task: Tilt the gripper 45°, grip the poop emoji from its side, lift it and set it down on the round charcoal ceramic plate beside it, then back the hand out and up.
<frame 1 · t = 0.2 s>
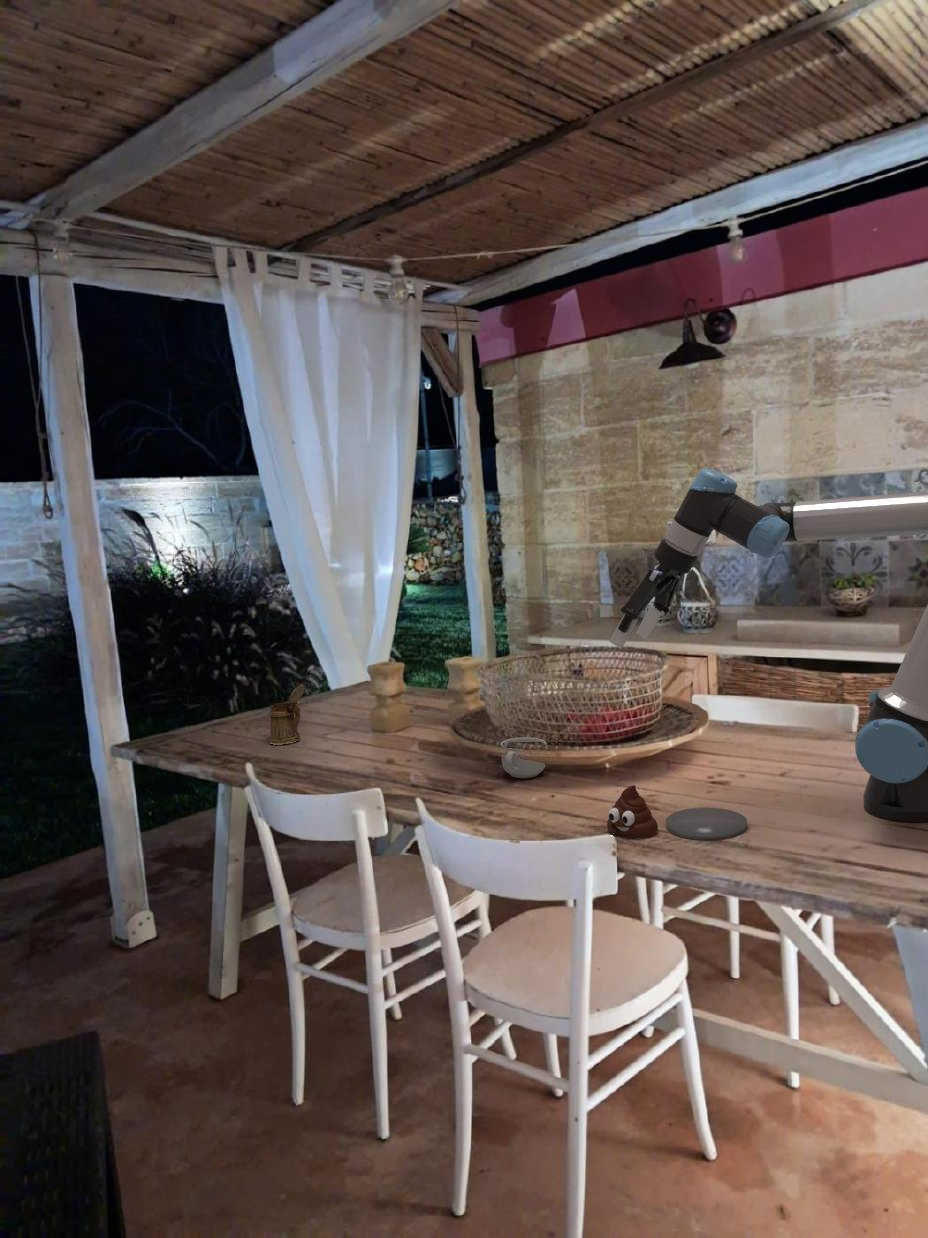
hand: (628, 640, 184), 35 cm above the table, tool tilted 35°, fingers open, 13 cm apart
wooden mug: (291, 743, 273), on the table
charcoal plate: (706, 826, 176), on the table
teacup: (522, 777, 218), on the table
poop emoji: (632, 833, 177), on the table
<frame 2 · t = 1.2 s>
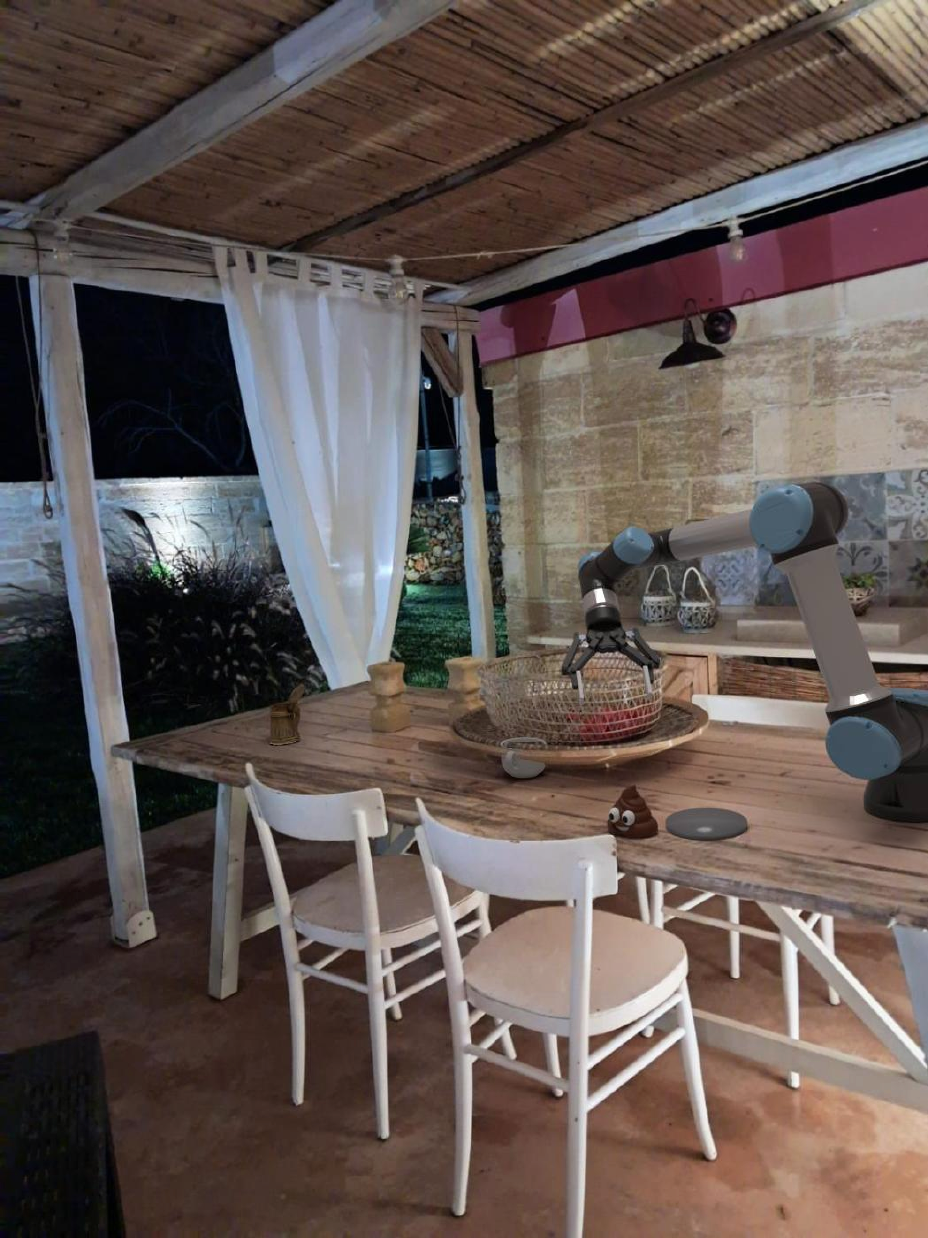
hand: (615, 699, 186), 23 cm above the table, tool tilted 45°, fingers open, 13 cm apart
nothing on the table moved.
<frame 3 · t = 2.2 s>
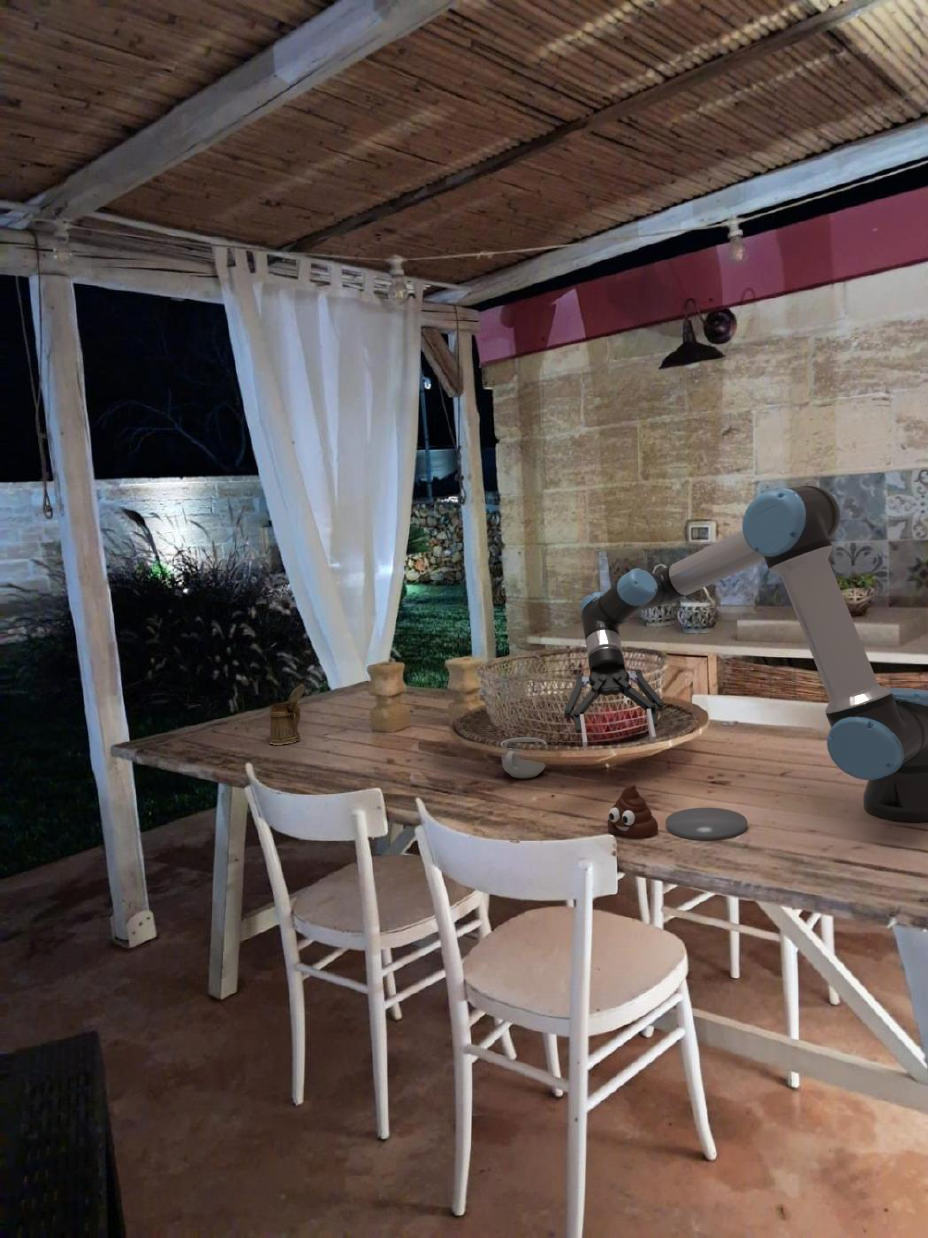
hand: (619, 743, 185), 15 cm above the table, tool tilted 45°, fingers open, 13 cm apart
nothing on the table moved.
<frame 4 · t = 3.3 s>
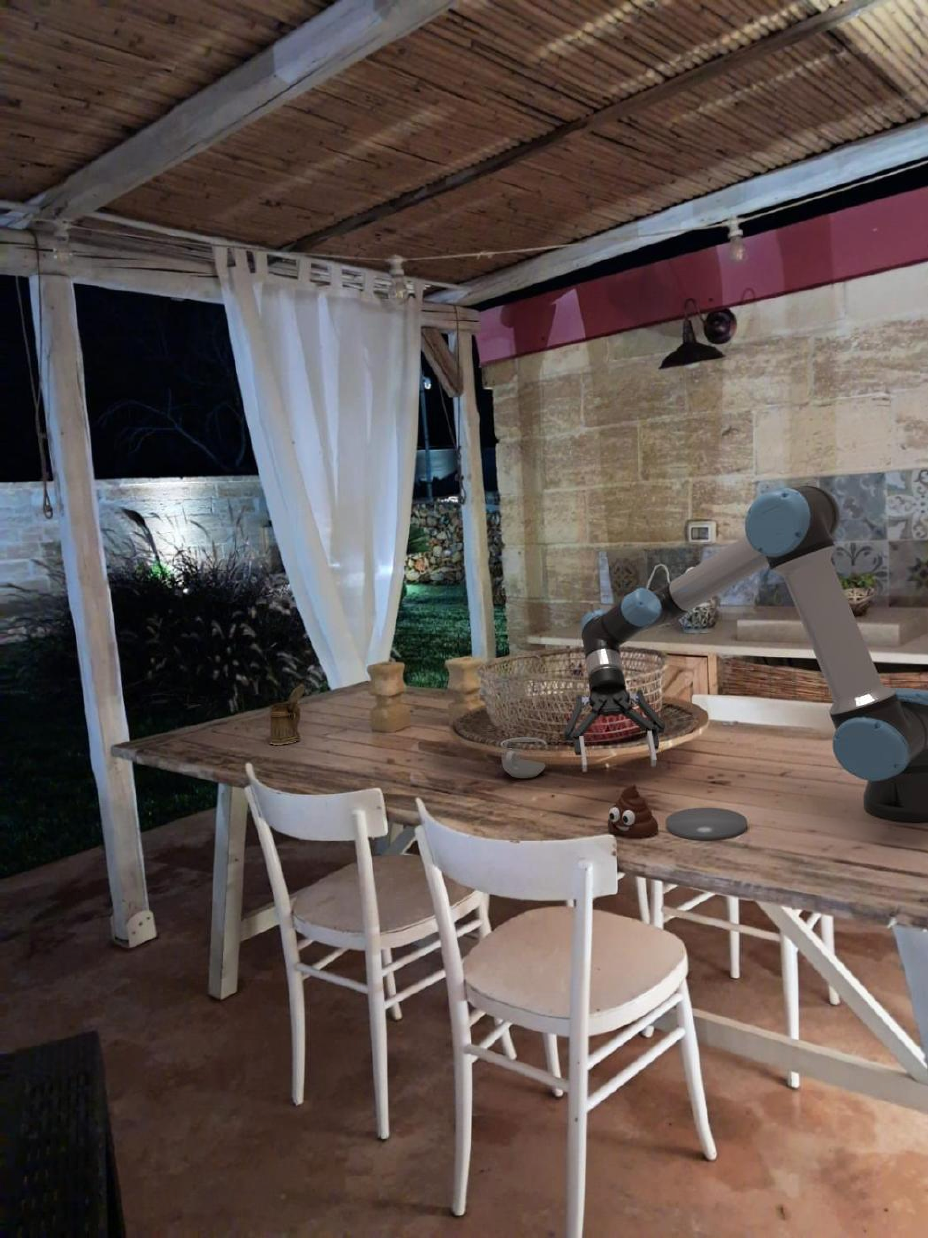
hand: (619, 765, 182), 11 cm above the table, tool tilted 45°, fingers open, 13 cm apart
nothing on the table moved.
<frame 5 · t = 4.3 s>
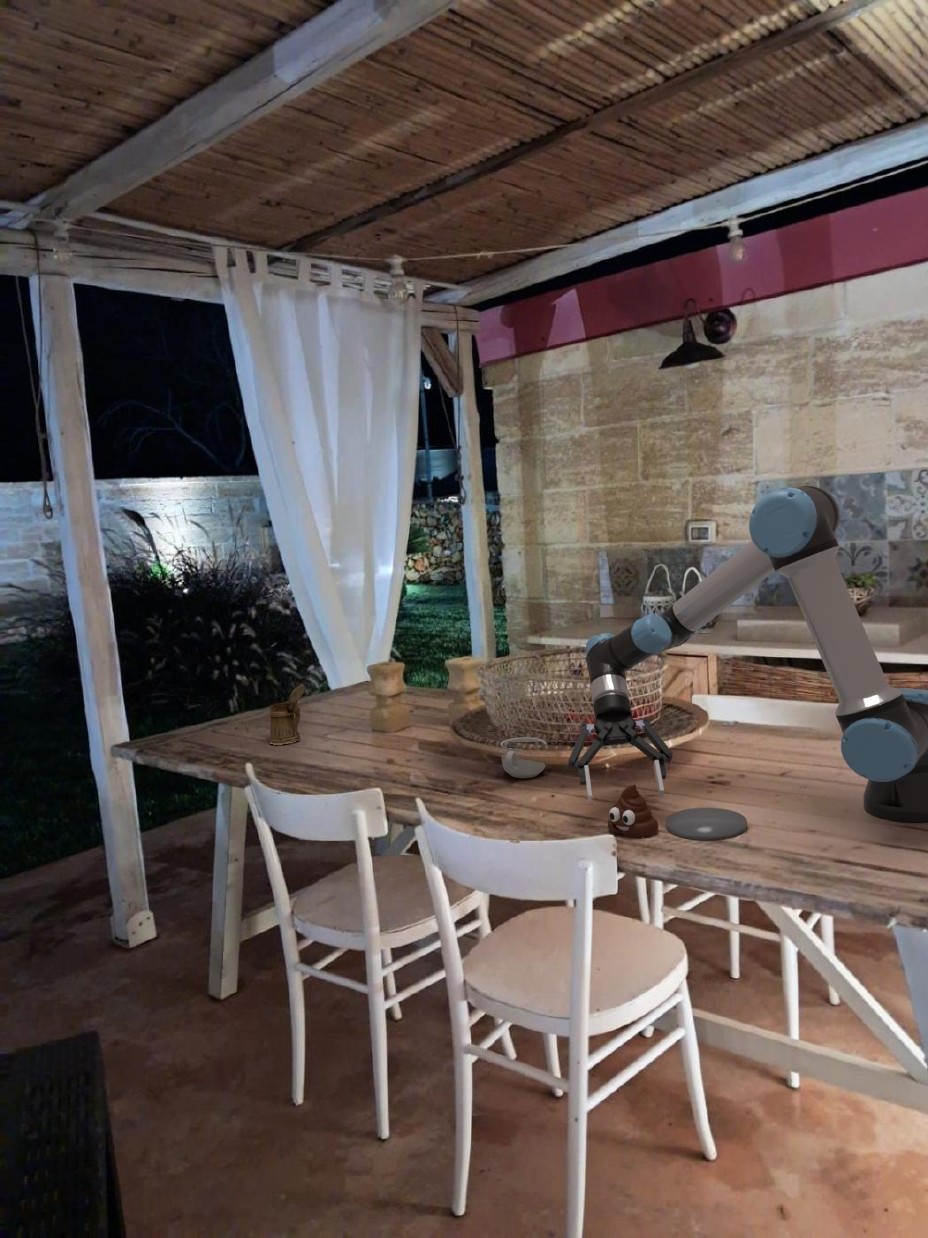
hand: (625, 796, 177), 7 cm above the table, tool tilted 45°, fingers open, 13 cm apart
nothing on the table moved.
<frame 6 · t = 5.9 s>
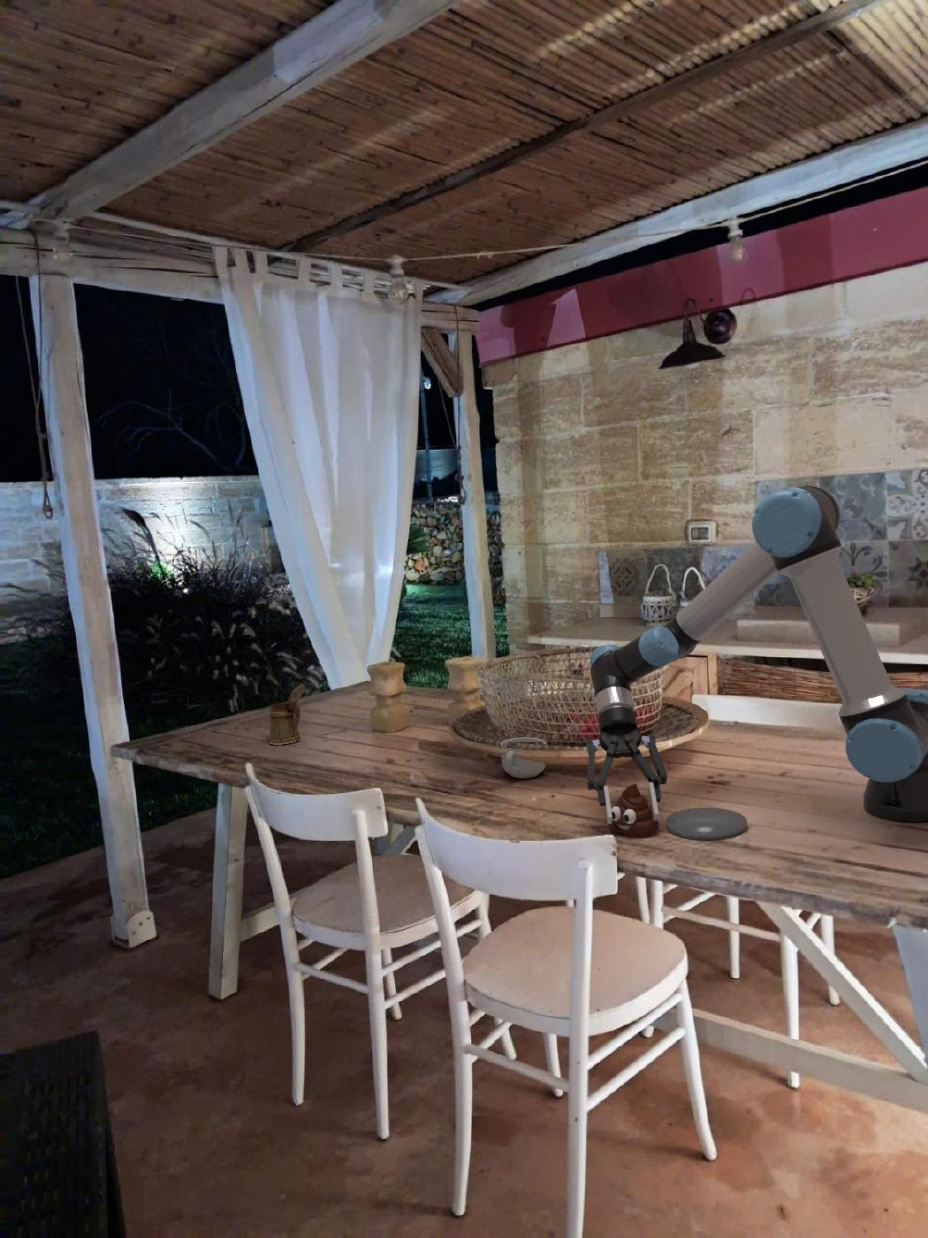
hand: (633, 818, 173), 4 cm above the table, tool tilted 45°, fingers closed on poop emoji, 8 cm apart
poop emoji: (633, 831, 177), on the table, touching gripper
everything else where it was.
when the fingers open (6 cm above the table, at t = 11.0 s): poop emoji stays where it is, resting on charcoal plate.
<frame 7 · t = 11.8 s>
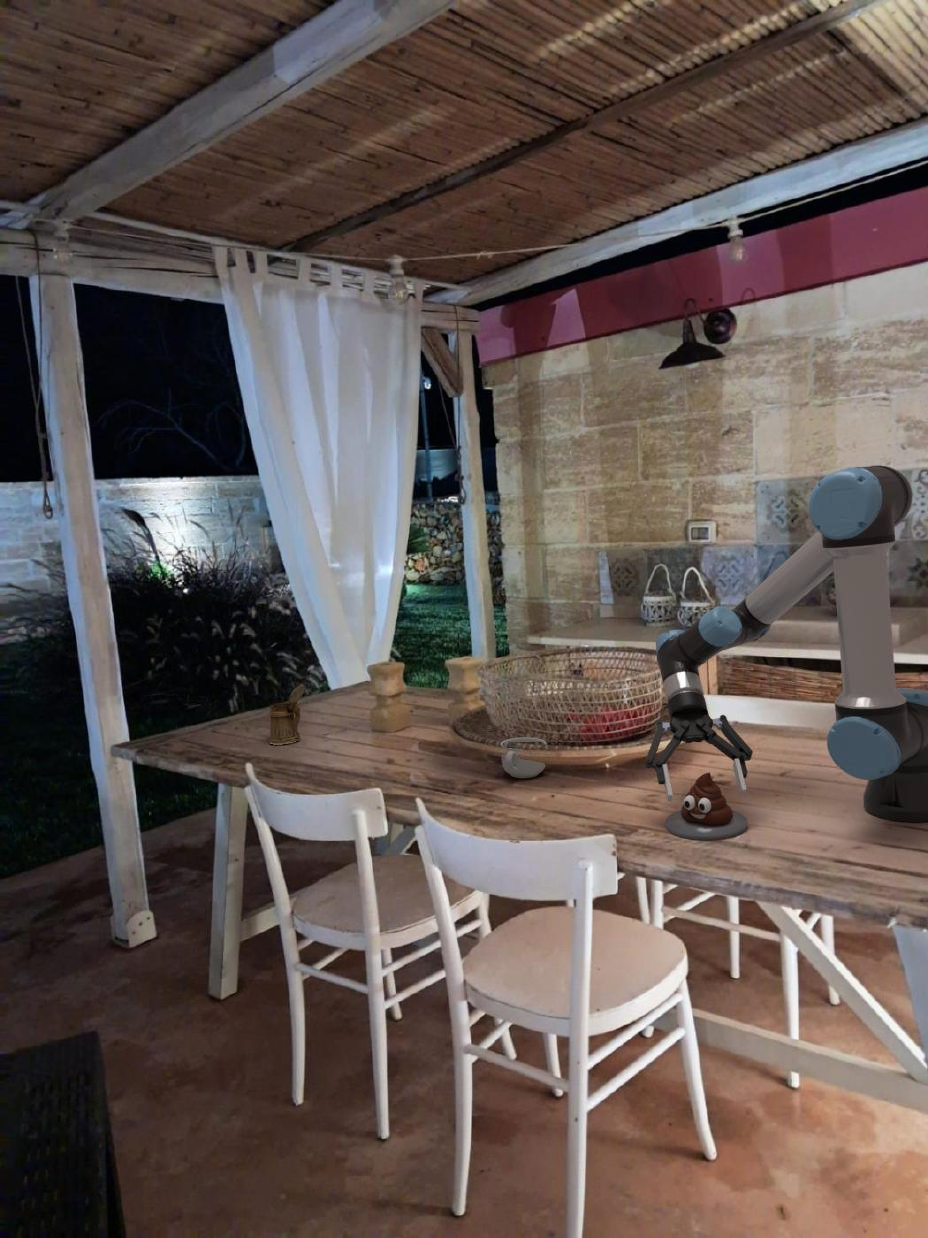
hand: (706, 796, 173), 7 cm above the table, tool tilted 45°, fingers open, 13 cm apart
poop emoji: (706, 820, 176), point 1 cm above the table, touching charcoal plate
everything else where it was.
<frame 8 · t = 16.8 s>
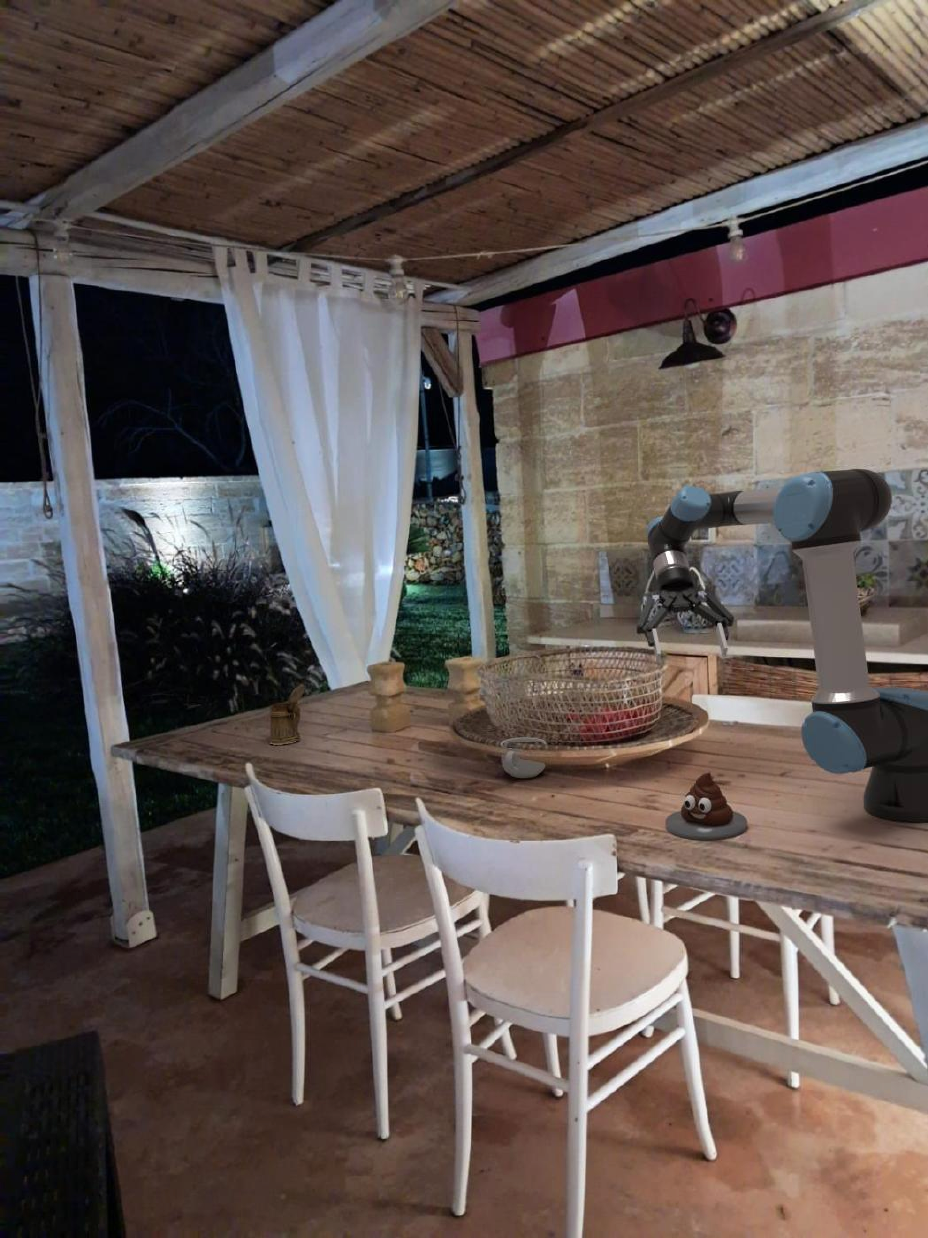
hand: (692, 655, 191), 30 cm above the table, tool tilted 45°, fingers open, 13 cm apart
nothing on the table moved.
at the end: poop emoji inside the target area on the charcoal plate (0.8 cm from its centre), point 0.8 cm above the charcoal plate's base; poop emoji tilted 0°; the gripper is holding nothing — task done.
